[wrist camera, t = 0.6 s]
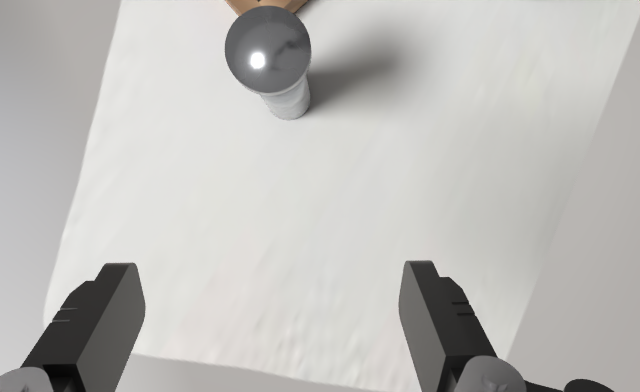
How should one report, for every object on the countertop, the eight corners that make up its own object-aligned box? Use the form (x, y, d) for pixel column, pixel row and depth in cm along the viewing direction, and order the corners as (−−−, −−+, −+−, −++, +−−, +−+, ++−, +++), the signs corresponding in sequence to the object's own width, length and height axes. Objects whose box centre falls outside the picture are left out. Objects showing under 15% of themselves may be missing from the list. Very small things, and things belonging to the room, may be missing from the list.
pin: (291, 57, 38) (271, -13, 25) (328, 100, 38) (328, 52, 25) (248, 95, 38) (207, 44, 25) (285, 138, 38) (263, 109, 25)
